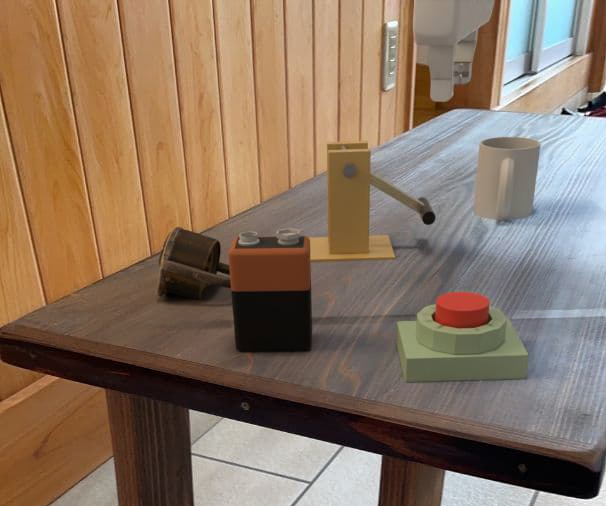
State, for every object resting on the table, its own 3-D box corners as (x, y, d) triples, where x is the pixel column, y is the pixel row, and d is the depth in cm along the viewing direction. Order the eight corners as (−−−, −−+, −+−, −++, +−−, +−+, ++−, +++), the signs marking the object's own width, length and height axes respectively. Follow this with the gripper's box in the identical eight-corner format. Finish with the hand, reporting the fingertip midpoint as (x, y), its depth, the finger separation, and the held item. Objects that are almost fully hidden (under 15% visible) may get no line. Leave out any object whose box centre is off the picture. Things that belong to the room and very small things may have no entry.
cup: (530, 211, 110) (540, 137, 105) (531, 234, 102) (541, 155, 97) (474, 210, 112) (480, 136, 106) (470, 233, 104) (477, 154, 98)
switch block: (505, 340, 77) (511, 297, 75) (525, 379, 71) (531, 333, 68) (395, 344, 77) (397, 301, 75) (405, 382, 71) (407, 337, 68)
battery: (310, 352, 76) (308, 239, 70) (235, 353, 76) (226, 240, 71) (312, 333, 80) (309, 224, 74) (240, 334, 80) (232, 225, 74)
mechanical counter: (192, 224, 91) (129, 227, 83) (294, 227, 85) (237, 230, 77) (195, 294, 94) (134, 303, 86) (295, 301, 87) (239, 312, 80)
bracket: (388, 245, 101) (391, 137, 94) (394, 267, 94) (399, 152, 87) (303, 248, 101) (300, 140, 94) (304, 270, 94) (301, 156, 87)
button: (482, 310, 74) (484, 290, 72) (492, 330, 70) (494, 309, 69) (431, 312, 74) (432, 292, 73) (438, 332, 70) (440, 311, 69)
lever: (421, 216, 98) (433, 197, 96) (428, 231, 93) (440, 211, 92) (330, 161, 94) (341, 141, 93) (332, 174, 89) (344, 153, 88)
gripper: (483, -100, 61) (466, 113, 69) (517, -98, 77) (500, 75, 85) (396, -96, 63) (391, 111, 71) (447, -95, 78) (438, 74, 86)
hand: (451, 91), depth 78 cm, fingers open, 8 cm apart
